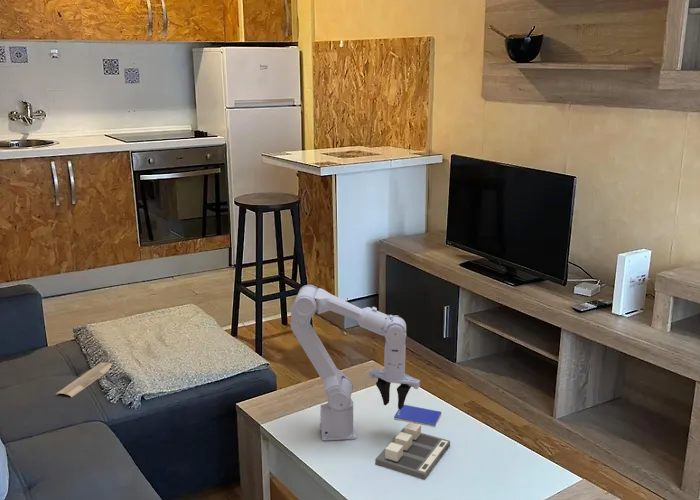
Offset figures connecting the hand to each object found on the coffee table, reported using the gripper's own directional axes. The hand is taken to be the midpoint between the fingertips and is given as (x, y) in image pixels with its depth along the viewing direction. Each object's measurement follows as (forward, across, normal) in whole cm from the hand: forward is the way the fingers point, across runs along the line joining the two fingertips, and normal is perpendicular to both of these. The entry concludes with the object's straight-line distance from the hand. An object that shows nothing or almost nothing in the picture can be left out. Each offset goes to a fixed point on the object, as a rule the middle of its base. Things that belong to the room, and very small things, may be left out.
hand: (393, 405), depth 190 cm
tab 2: (+8, -6, +6) cm, 11 cm away
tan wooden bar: (+10, +102, +18) cm, 104 cm away
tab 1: (+8, -6, +12) cm, 15 cm away
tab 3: (+8, -6, 0) cm, 10 cm away
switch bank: (+9, -9, +6) cm, 14 cm away
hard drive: (+10, -2, -13) cm, 17 cm away
